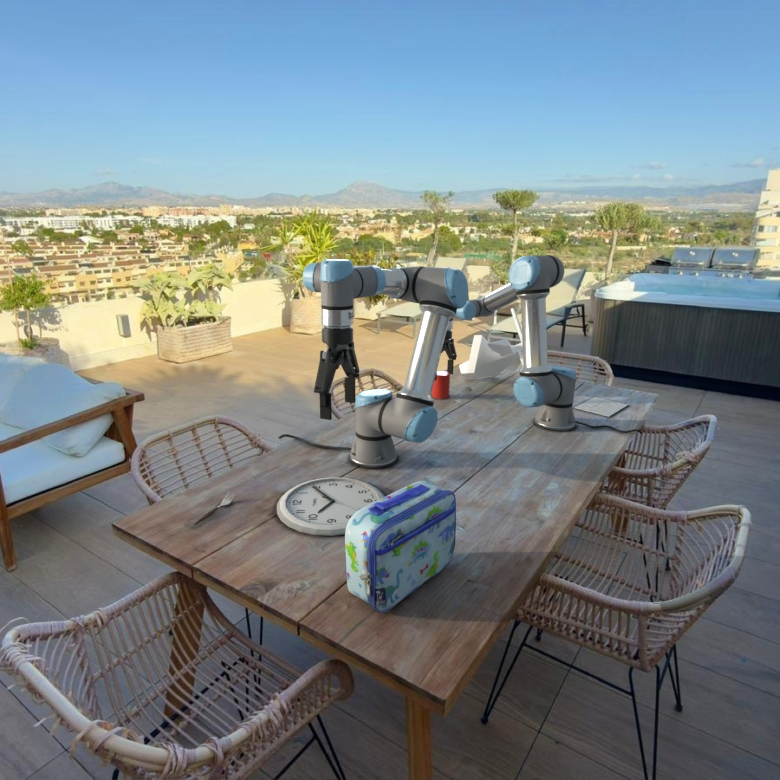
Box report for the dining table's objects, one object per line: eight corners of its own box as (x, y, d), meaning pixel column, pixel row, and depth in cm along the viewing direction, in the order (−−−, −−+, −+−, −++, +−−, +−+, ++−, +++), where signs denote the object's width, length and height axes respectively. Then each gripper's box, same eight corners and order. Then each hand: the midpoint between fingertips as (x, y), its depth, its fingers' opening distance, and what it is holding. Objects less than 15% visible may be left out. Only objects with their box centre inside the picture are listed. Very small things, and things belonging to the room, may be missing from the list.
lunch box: (374, 626, 100) (375, 530, 93) (338, 598, 107) (337, 508, 101) (459, 568, 117) (465, 484, 111) (424, 547, 124) (427, 467, 118)
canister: (432, 393, 241) (433, 370, 238) (449, 394, 240) (450, 371, 237) (431, 398, 233) (432, 375, 230) (448, 399, 233) (449, 376, 229)
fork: (190, 525, 132) (189, 518, 131) (229, 496, 146) (228, 490, 145) (198, 527, 131) (198, 520, 130) (237, 498, 145) (236, 491, 145)
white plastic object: (480, 421, 262) (459, 398, 238) (462, 347, 285) (440, 320, 260) (552, 397, 250) (537, 370, 226) (527, 322, 272) (511, 290, 248)
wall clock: (392, 527, 129) (268, 531, 127) (391, 533, 130) (269, 537, 127) (383, 473, 158) (282, 475, 155) (383, 478, 158) (282, 480, 156)
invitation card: (608, 416, 214) (573, 407, 224) (608, 416, 214) (573, 408, 224) (628, 404, 229) (594, 396, 238) (628, 405, 229) (594, 397, 238)
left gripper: (327, 337, 112) (329, 429, 118) (372, 319, 134) (371, 397, 141) (296, 334, 115) (300, 424, 121) (345, 317, 137) (346, 394, 143)
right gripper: (451, 325, 239) (449, 370, 245) (420, 332, 220) (418, 381, 226) (465, 327, 235) (463, 372, 241) (434, 334, 216) (433, 384, 222)
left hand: (338, 410), depth 131 cm, fingers open, 13 cm apart
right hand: (441, 376), depth 234 cm, fingers open, 13 cm apart
